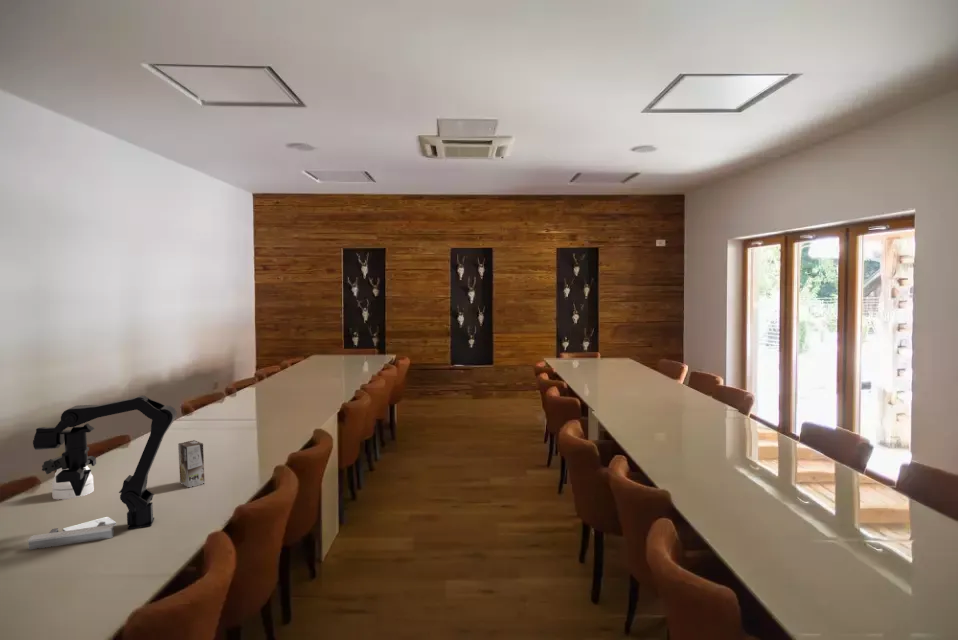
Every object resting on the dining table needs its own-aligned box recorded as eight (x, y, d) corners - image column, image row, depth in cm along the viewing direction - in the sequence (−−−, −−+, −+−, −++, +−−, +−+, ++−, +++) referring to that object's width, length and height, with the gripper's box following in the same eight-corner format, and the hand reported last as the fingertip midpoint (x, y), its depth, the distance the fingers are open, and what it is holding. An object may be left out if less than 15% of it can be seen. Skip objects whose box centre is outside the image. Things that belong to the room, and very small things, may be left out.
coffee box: (205, 483, 222) (203, 443, 222) (188, 488, 218) (186, 446, 217) (196, 478, 229) (194, 439, 228) (179, 483, 224) (177, 442, 223)
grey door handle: (118, 527, 182) (117, 518, 181) (111, 538, 173) (111, 528, 173) (39, 538, 174) (38, 528, 174) (28, 550, 166) (27, 540, 166)
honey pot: (90, 485, 223) (88, 440, 222) (97, 493, 214) (95, 446, 213) (49, 493, 214) (47, 446, 213) (55, 502, 205) (52, 453, 204)
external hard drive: (62, 533, 179) (107, 520, 189) (70, 540, 174) (116, 526, 184) (62, 528, 179) (107, 515, 189) (70, 535, 174) (116, 521, 183)
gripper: (55, 442, 183) (57, 489, 184) (33, 457, 166) (36, 509, 166) (95, 438, 187) (97, 485, 188) (78, 453, 170) (81, 504, 170)
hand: (78, 495), depth 178 cm, fingers closed
